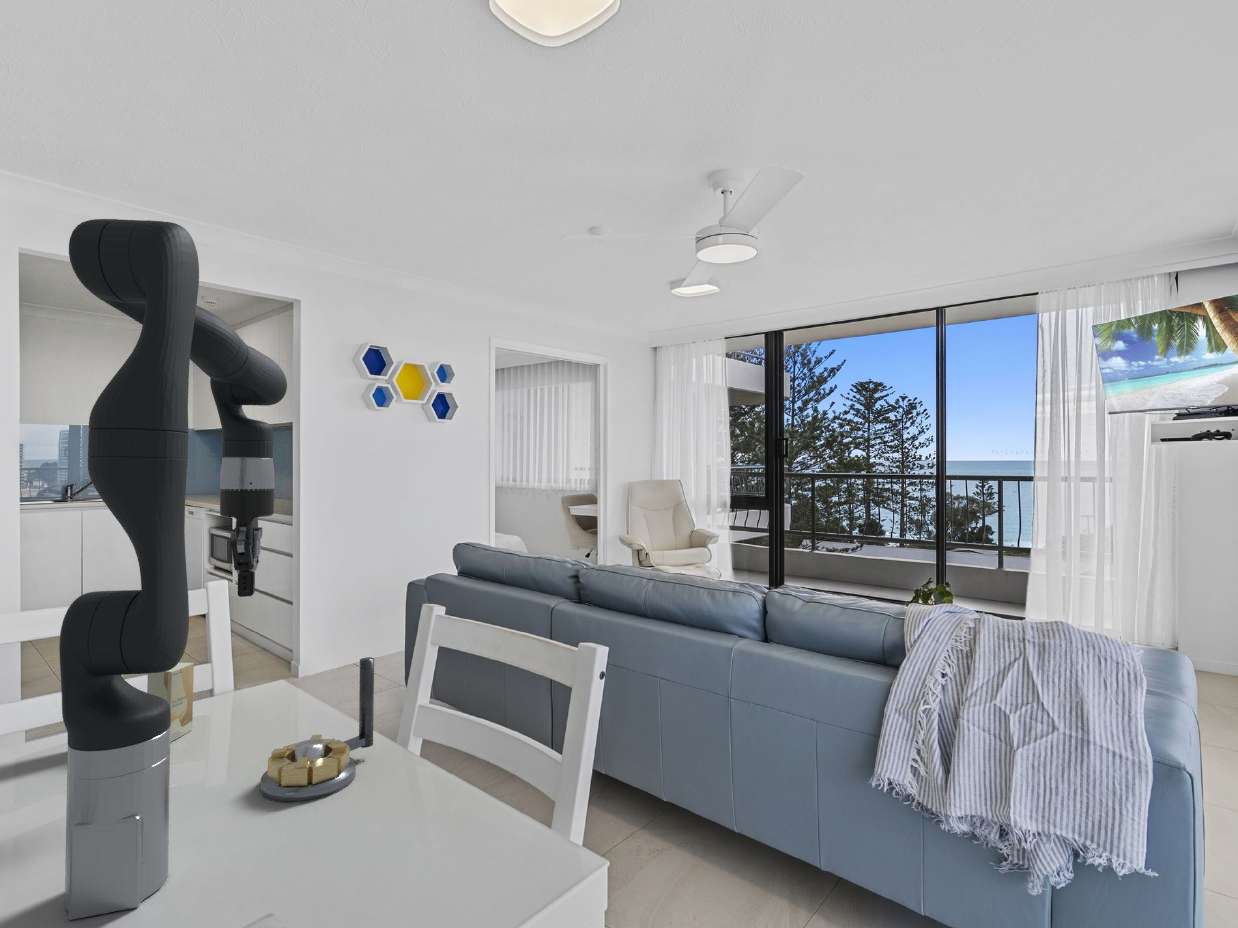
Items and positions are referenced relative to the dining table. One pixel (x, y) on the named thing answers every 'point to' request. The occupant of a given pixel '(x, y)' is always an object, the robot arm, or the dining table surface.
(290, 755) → the lever crank
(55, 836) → the dining table surface
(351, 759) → the flange
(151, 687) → the skincare box
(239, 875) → the dining table surface
